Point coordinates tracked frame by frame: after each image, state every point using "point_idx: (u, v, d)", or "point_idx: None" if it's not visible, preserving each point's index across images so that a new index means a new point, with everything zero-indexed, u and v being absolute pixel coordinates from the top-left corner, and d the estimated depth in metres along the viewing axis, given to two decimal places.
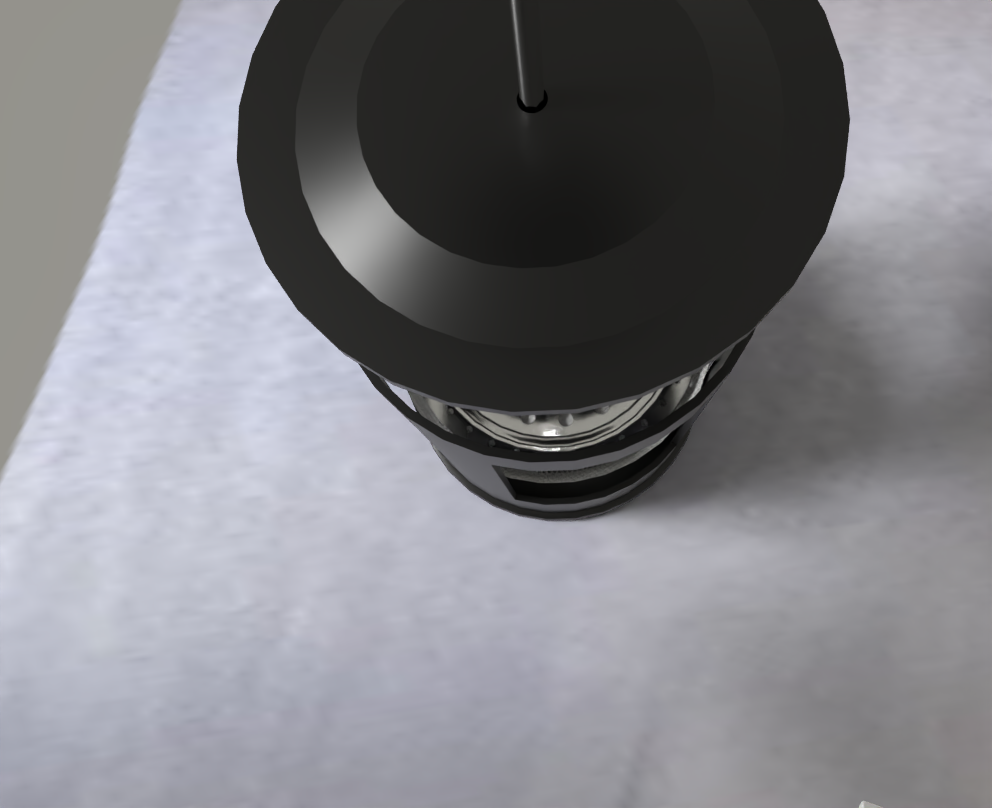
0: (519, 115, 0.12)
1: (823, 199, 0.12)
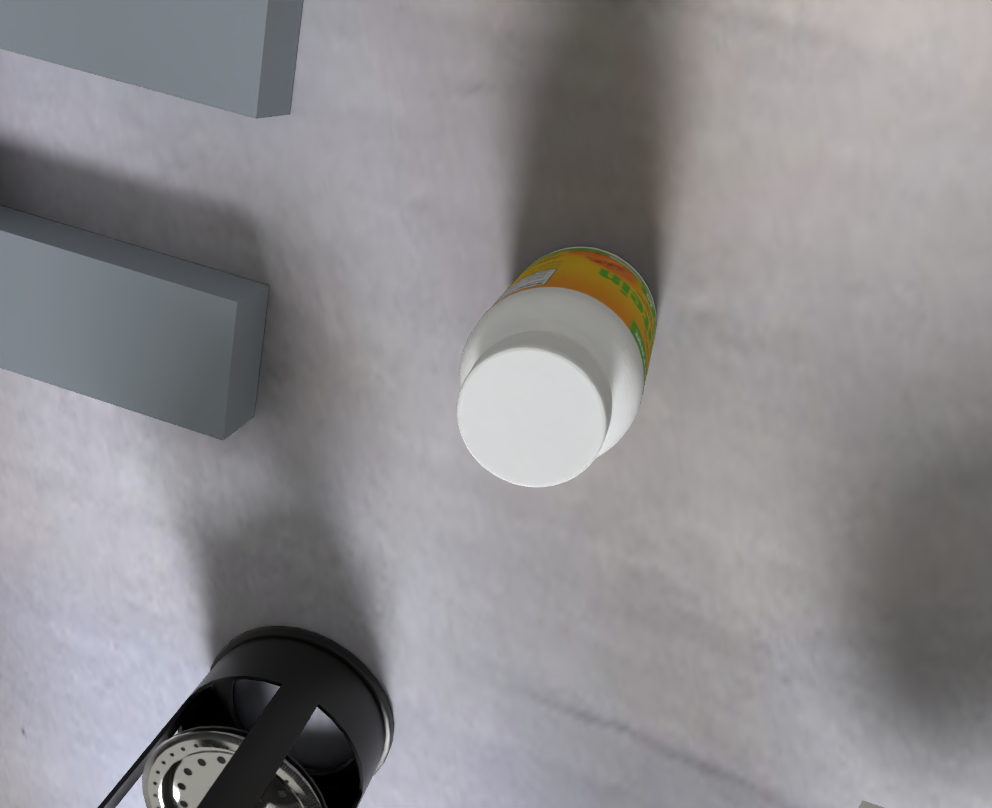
0: None
1: None
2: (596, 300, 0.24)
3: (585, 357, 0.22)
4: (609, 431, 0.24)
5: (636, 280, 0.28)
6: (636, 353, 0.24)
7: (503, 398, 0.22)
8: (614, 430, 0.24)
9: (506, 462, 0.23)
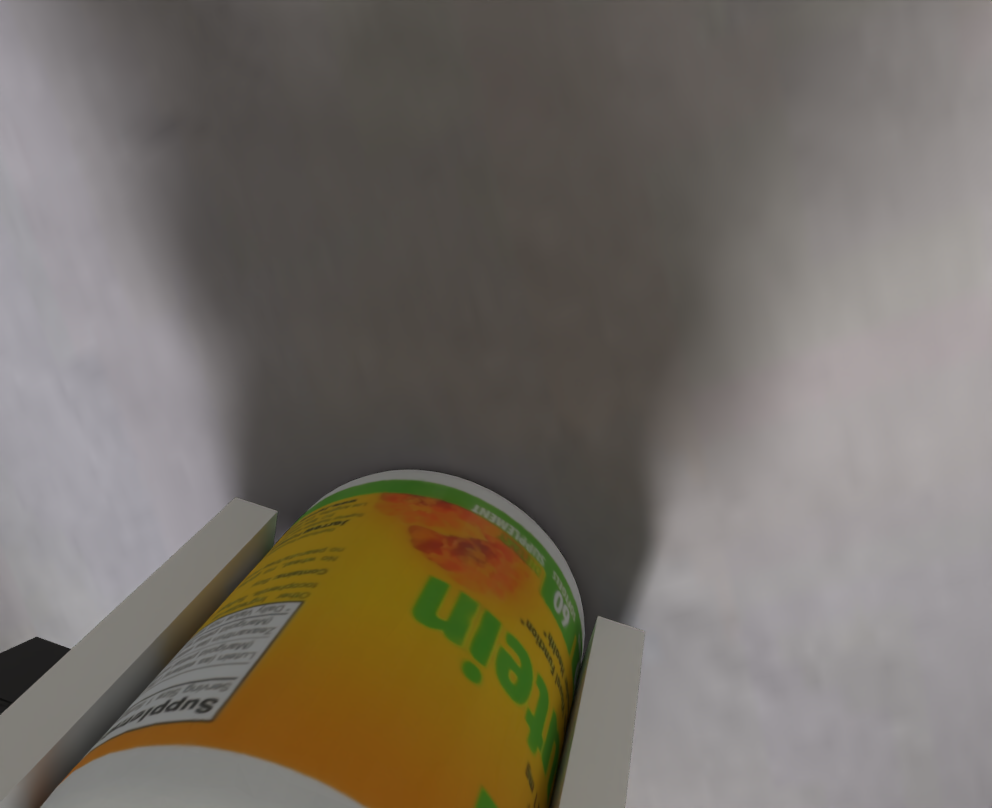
0: None
1: None
2: (344, 801, 0.08)
3: None
4: None
5: (529, 571, 0.12)
6: None
7: None
8: None
9: None
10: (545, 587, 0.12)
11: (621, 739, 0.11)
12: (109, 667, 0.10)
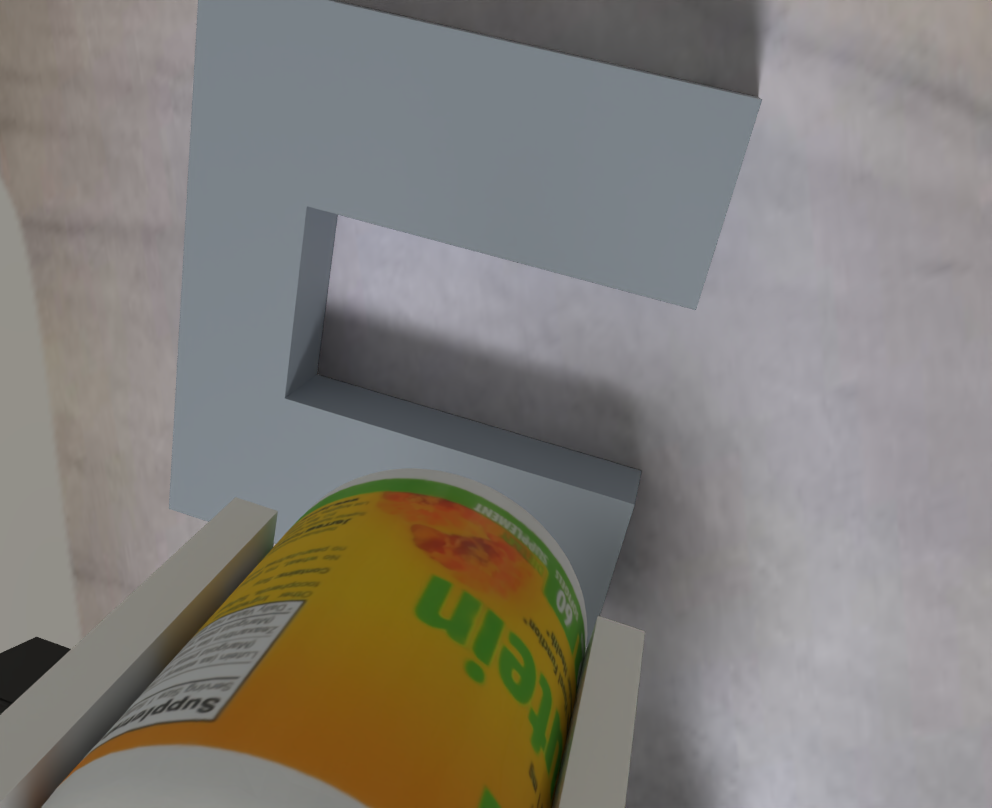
0: None
1: None
2: (347, 802, 0.08)
3: None
4: None
5: (532, 570, 0.12)
6: None
7: None
8: None
9: None
10: (548, 586, 0.12)
11: (621, 739, 0.11)
12: (110, 667, 0.10)
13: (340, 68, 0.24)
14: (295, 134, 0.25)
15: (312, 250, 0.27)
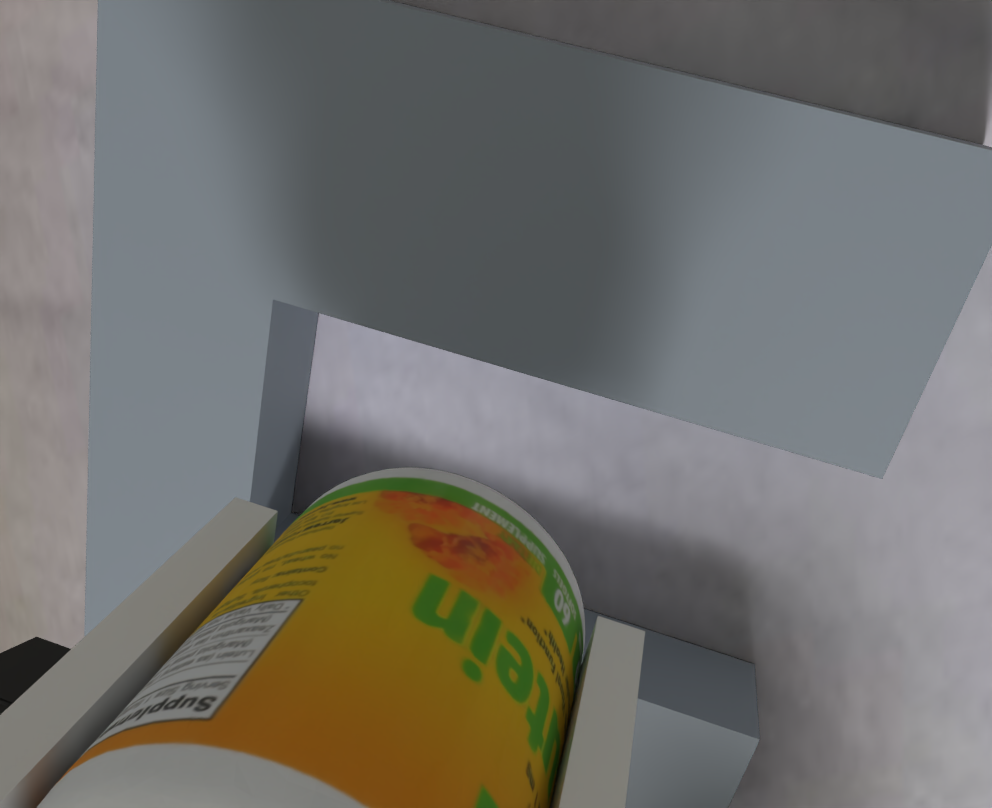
0: None
1: None
2: (343, 801, 0.08)
3: None
4: None
5: (529, 569, 0.12)
6: None
7: None
8: None
9: None
10: (545, 585, 0.12)
11: (621, 739, 0.11)
12: (110, 667, 0.10)
13: (325, 92, 0.15)
14: (255, 192, 0.16)
15: (283, 357, 0.18)
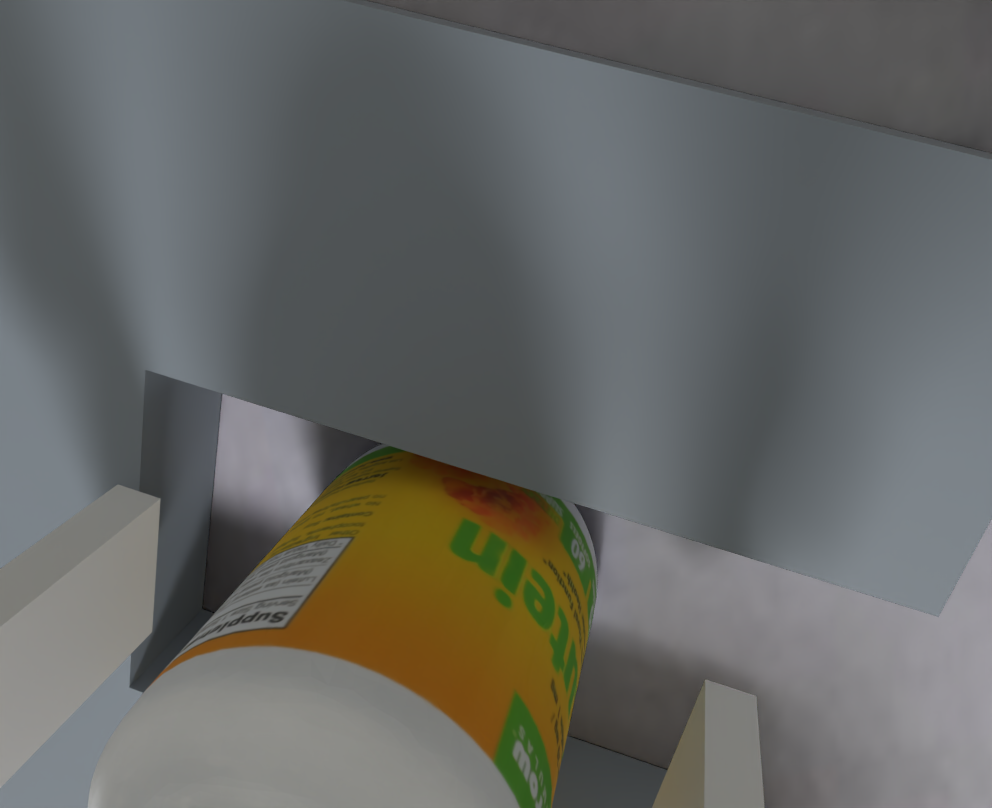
0: None
1: None
2: (402, 690, 0.09)
3: None
4: None
5: (549, 519, 0.14)
6: None
7: None
8: None
9: None
10: (563, 534, 0.14)
11: None
12: None
13: (195, 103, 0.11)
14: (114, 233, 0.12)
15: (170, 436, 0.15)
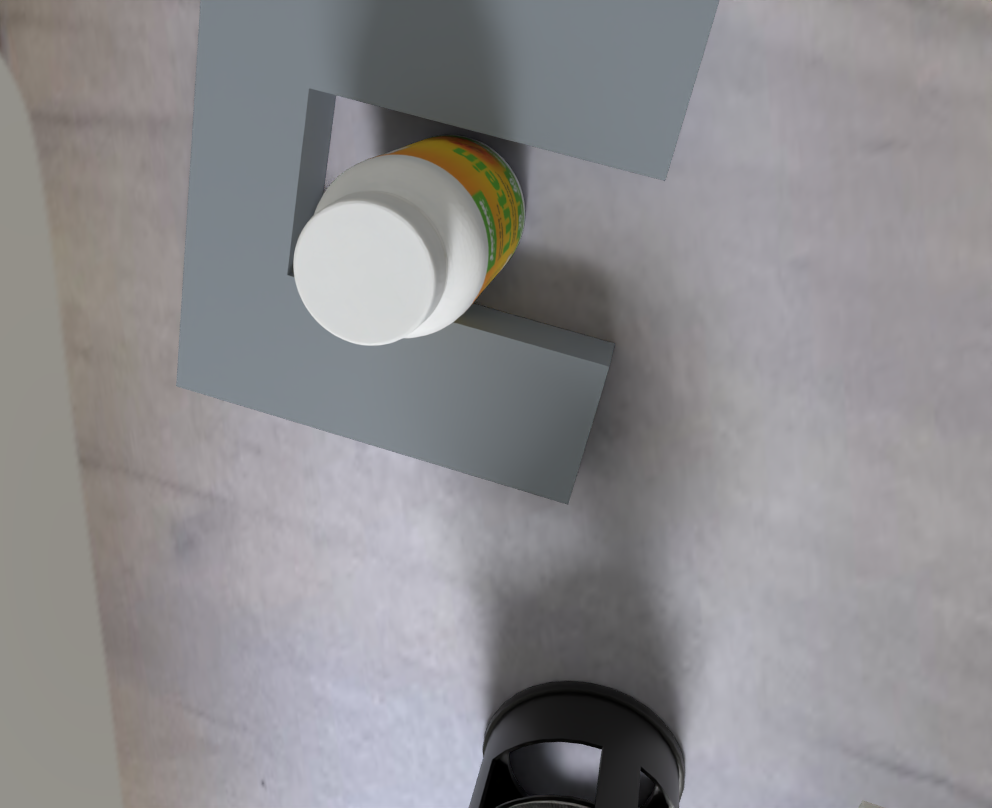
0: None
1: None
2: (437, 166, 0.24)
3: (415, 213, 0.22)
4: (453, 296, 0.25)
5: (498, 164, 0.29)
6: (476, 218, 0.24)
7: (335, 254, 0.22)
8: (458, 295, 0.25)
9: (343, 321, 0.23)
10: (505, 173, 0.29)
11: None
12: None
13: None
14: (299, 18, 0.27)
15: (313, 134, 0.30)
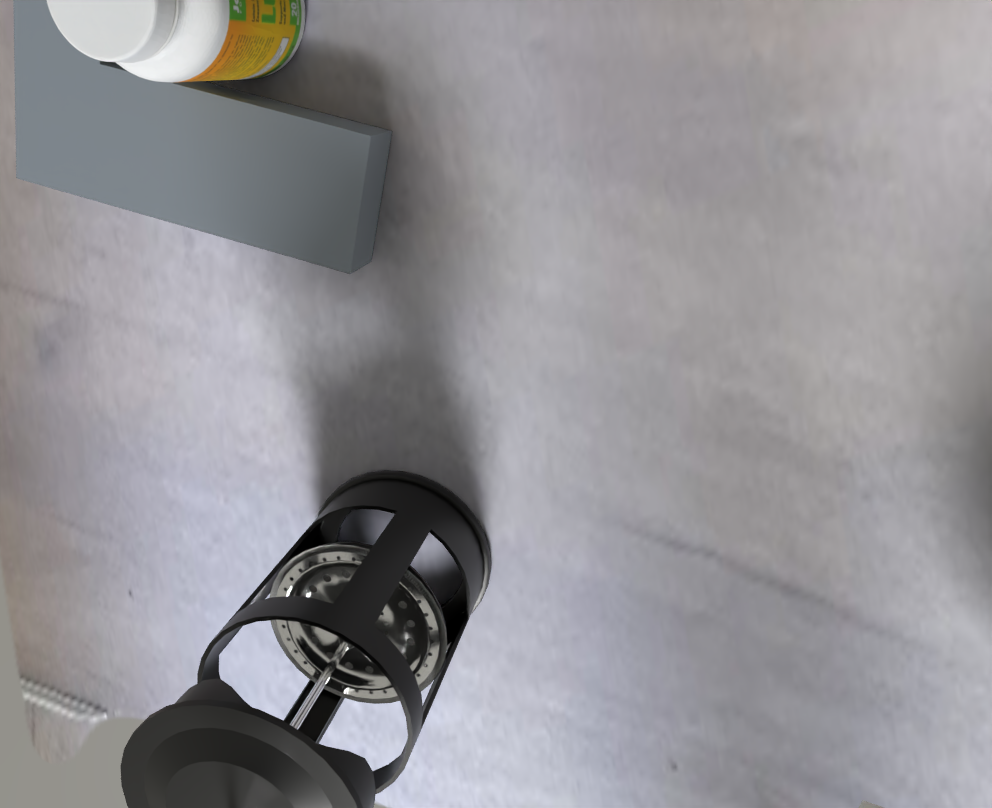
0: None
1: (266, 724, 0.27)
2: None
3: None
4: (194, 32, 0.29)
5: None
6: None
7: None
8: (198, 32, 0.29)
9: (88, 39, 0.28)
10: None
11: None
12: None
13: None
14: None
15: None
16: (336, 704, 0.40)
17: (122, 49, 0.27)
